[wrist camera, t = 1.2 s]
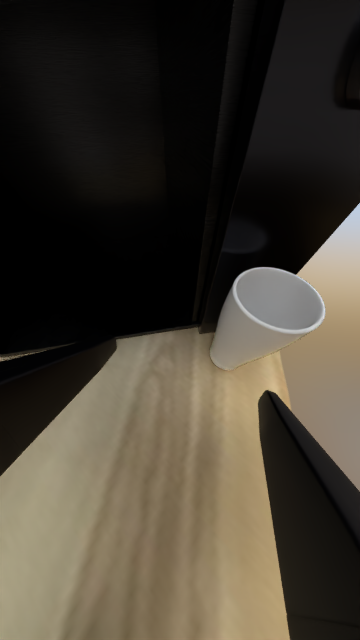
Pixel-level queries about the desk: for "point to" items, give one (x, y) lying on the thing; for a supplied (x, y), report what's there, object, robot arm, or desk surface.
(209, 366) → the desk surface
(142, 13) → the microwave
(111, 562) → the desk surface
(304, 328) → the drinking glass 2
